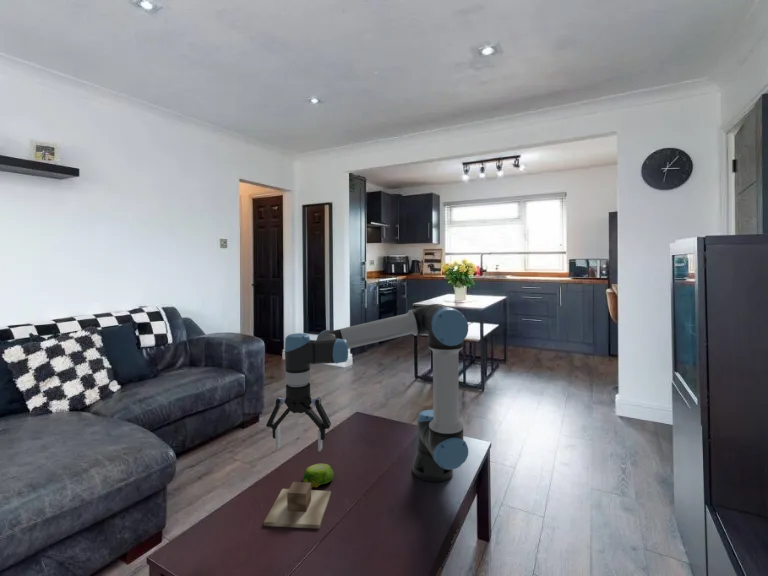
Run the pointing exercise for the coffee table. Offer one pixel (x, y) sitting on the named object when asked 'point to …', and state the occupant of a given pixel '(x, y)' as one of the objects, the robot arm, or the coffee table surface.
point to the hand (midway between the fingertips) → (299, 448)
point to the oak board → (298, 519)
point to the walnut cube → (299, 497)
